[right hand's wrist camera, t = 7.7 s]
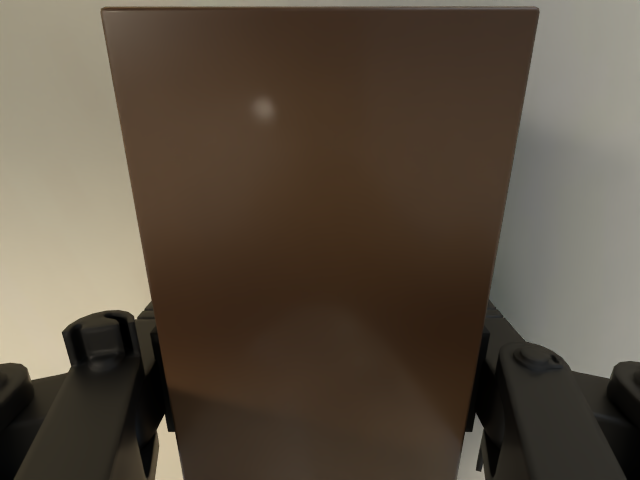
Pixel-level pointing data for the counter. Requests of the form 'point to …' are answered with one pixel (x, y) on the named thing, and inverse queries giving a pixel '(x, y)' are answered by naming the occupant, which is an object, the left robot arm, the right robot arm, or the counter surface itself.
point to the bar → (320, 224)
